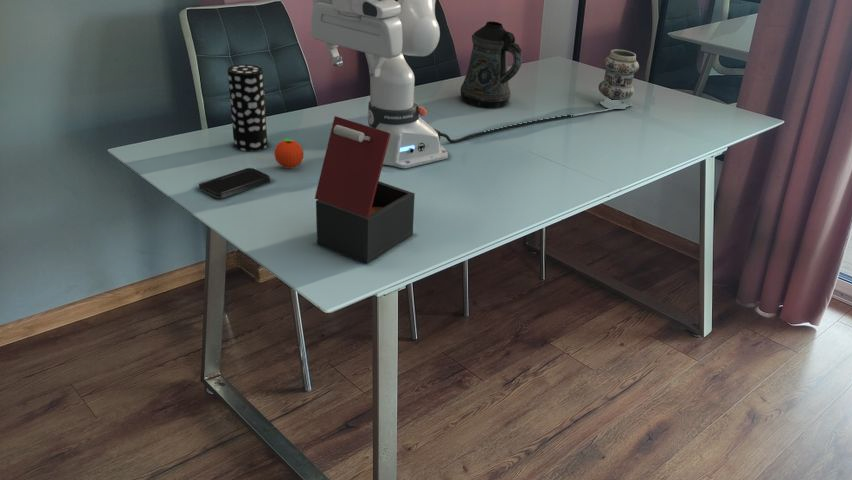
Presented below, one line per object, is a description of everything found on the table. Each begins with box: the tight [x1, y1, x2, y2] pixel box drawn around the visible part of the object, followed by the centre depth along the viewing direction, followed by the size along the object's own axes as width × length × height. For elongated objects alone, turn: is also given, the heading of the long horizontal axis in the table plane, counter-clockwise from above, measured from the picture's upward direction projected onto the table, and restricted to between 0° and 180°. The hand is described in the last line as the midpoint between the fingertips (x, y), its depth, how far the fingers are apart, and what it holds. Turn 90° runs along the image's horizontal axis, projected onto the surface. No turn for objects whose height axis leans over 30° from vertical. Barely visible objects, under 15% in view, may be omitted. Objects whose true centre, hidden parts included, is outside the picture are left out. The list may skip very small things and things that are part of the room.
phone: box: [198, 167, 271, 200], centre depth 177 cm, size 8×1×15 cm
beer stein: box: [460, 21, 524, 109], centre depth 243 cm, size 16×19×25 cm
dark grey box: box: [315, 180, 416, 265], centre depth 158 cm, size 16×13×10 cm
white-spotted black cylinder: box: [227, 63, 268, 152], centre depth 193 cm, size 8×8×20 cm
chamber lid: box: [314, 115, 391, 218], centre depth 146 cm, size 17×13×5 cm
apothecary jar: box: [598, 48, 640, 101], centre depth 254 cm, size 12×12×18 cm
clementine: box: [274, 138, 304, 169], centre depth 187 cm, size 8×7×7 cm
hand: (355, 70), depth 153 cm, fingers open, 8 cm apart
